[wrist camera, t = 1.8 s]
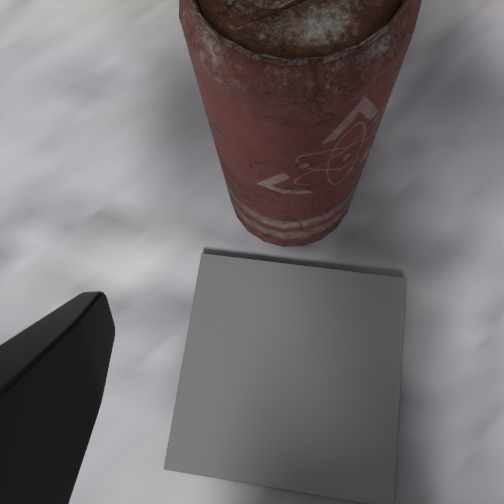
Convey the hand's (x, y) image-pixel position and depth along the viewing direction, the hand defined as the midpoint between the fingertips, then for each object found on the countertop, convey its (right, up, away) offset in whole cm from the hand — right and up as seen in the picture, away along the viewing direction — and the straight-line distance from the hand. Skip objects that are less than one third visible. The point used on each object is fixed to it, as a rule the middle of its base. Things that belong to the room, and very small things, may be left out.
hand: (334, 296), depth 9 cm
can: (0, +4, +15) cm, 16 cm away
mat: (0, -5, +13) cm, 14 cm away
